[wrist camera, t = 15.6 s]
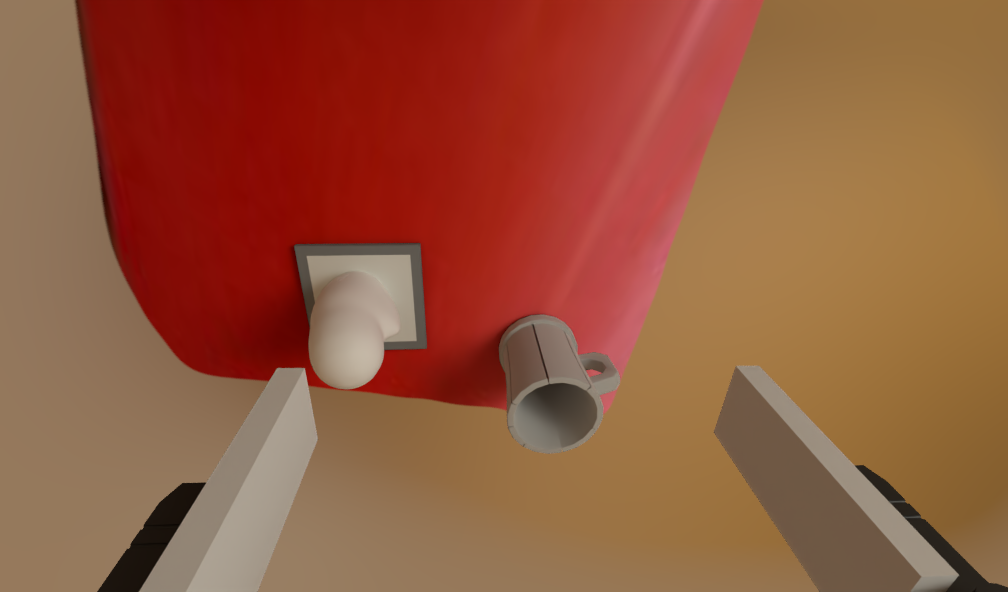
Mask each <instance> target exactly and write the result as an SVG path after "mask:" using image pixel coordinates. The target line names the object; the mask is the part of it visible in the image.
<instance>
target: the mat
mask: <svg viewBox="0 0 1008 592" xmlns="http://www.w3.org/2000/svg"><path fill="white" fill-rule="evenodd" d="M294 248H295V253H296V258H297V264H298V269H299V274H300V279H301V285H302V290H303V295H304V300H305V306H306V311H307V316H308V321H309V327H310V320H311V314H312V310H313V307H314V304H315V302H316V300H317V298H318V296H319V295H320V293H321V292H322V290H323V289H324V288H325V287H326V286H327V284H329V283H330V282H331V281H332V280H333V279H334V278H336V277H337V276H339V275H341V274H343V273H346V272H350V271H361V272H366V273H368V274H371V275H373V276H374V277H376V278H377V279H378V280H379V281H380V282H381V283H382V284H383V285H384V287H385V289H386V290H387V292H388V293H389V295H390V297H391V298H392V300H393V302H394V303H395V305H396V308H397V310H398V314H399V318H400V331H399V333H397V334H396V335H394V336H392V337H390V338H388V339H386V340H385V341H384V350H393V349H426V348H427V340H426V324H425V309H424V294H423V278H422V263H421V247H420V243H378V244H296V245H295V246H294Z"/></svg>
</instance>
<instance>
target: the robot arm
mask: <svg viewBox="0 0 1008 592" xmlns="http://www.w3.org/2000/svg"><path fill="white" fill-rule="evenodd" d="M714 433H715V435H716V436H717V438H718V439H719V441H720V442H721V444H722V445H723V447H724V448H725V450H726V451H727V453H728V454H729V456H730V458H731V459H732V461H733V462H734V464H735V465H736V467H737V468H738V470H739V471H740V472H741V474H742V476H743V477H744V478H745V480H746V482H747V483H748V485H749V486H750V488H751V489H752V491H753V492H754V493H755V495H756V496H757V498H758V500H759V501H760V503H761V504H762V506H763V507H764V509H765V510H766V512H767V513H768V515H769V516H770V518H771V519H772V521H773V522H774V524H775V525H776V527H777V528H778V530H779V531H780V533H781V534H782V536H783V537H784V539H785V540H786V542H787V543H788V545H789V546H790V548H791V549H792V551H793V553H794V554H795V555H796V557H797V558H798V560H799V562H800V563H801V565H802V566H803V567H804V569H805V571H806V572H807V573H808V575H809V577H810V578H811V580H812V581H813V583H814V584H815V586H816V587H817V589H818V590H819V592H1008V587H1005V586H1002V585H999V584H993V583H988V582H987V581H986V580H985V579H984V578H983V577H982V576H981V575H980V574H979V573H978V572H977V571H976V570H975V569H974V568H973V567H972V566H971V565H970V564H969V563H968V562H967V561H966V560H965V559H964V558H963V557H962V556H961V555H960V554H959V553H958V552H957V551H956V550H955V549H954V548H953V547H952V546H951V545H950V544H949V543H948V542H947V541H946V540H945V539H944V538H943V537H942V536H941V535H940V534H939V533H938V532H937V531H936V530H935V529H934V528H933V527H932V526H931V525H930V524H929V523H928V522H926V520H924V519H921V516H920V514H919V513H918V512H917V511H916V510H915V509H914V508H913V507H912V506H911V505H910V504H907V503H906V502H905V499H904V498H903V497H902V496H901V495H900V494H899V493H898V492H897V491H896V490H895V489H894V488H893V487H892V486H891V485H890V484H889V483H888V482H887V481H886V480H884V479H883V478H881V477H880V476H878V475H877V474H875V473H874V472H872V471H871V470H869V469H868V468H866V467H865V466H864V465H859V466H854V465H853V464H852V463H851V462H850V461H849V459H847V457H846V456H845V455H844V454H843V453H842V452H841V451H840V450H839V449H838V448H837V447H836V446H835V445H834V444H833V443H832V442H831V441H830V440H829V439H828V437H827V436H825V434H824V433H823V432H822V431H821V430H820V429H819V428H818V427H817V426H816V425H815V424H814V423H813V422H812V421H811V420H810V419H809V418H808V417H807V415H805V413H804V412H803V411H802V410H801V409H800V408H799V407H798V406H797V405H796V404H795V403H794V402H793V401H792V400H791V399H790V398H789V397H788V396H787V395H786V394H785V392H784V391H783V390H781V388H779V386H778V385H777V384H776V383H775V382H774V381H773V380H772V379H771V378H770V377H769V376H768V375H767V374H766V373H765V372H764V371H763V369H761V367H760V366H736V367H735V370H734V373H733V376H732V380H731V382H730V385H729V388H728V391H727V394H726V397H725V400H724V403H723V406H722V410H721V412H720V415H719V418H718V421H717V424H716V427H715V430H714ZM317 440H318V438H317V432H316V427H315V421H314V416H313V411H312V405H311V400H310V395H309V389H308V384H307V378H306V373H305V368H277V369H276V371H275V373H274V374H273V376H272V377H271V379H270V381H269V382H268V384H267V386H266V387H265V389H264V391H263V392H262V394H261V395H260V397H259V399H258V400H257V402H256V403H255V405H254V407H253V408H252V410H251V412H250V413H249V415H248V416H247V418H246V420H245V421H244V423H243V424H242V426H241V428H240V429H239V431H238V433H237V434H236V436H235V437H234V439H233V441H232V442H231V444H230V445H229V447H228V449H227V450H226V452H225V454H224V455H223V457H222V459H221V460H220V462H219V463H218V465H217V467H216V468H215V470H214V471H213V473H212V475H211V476H210V478H209V479H208V481H207V483H182V484H181V485H180V486H178V487H177V488H176V489H175V490H174V491H172V492H171V493H170V494H169V495H168V496H167V497H165V498H164V499H163V500H162V501H161V502H160V503H159V504H158V505H157V507H156V508H155V510H154V511H153V512H152V514H151V515H150V517H149V518H148V520H147V521H146V523H145V524H144V528H143V529H142V530H140V531H139V533H138V534H137V535H136V537H135V538H134V540H133V541H132V543H131V546H130V548H129V549H127V550H126V551H125V553H124V554H123V556H122V557H121V558H120V560H119V561H118V563H117V564H116V566H115V567H114V569H113V570H112V571H111V573H110V574H109V576H108V577H107V578H106V580H105V581H104V583H103V584H102V586H101V587H100V589H99V590H98V591H97V592H258V589H259V587H260V584H261V581H262V579H263V576H264V574H265V571H266V569H267V566H268V564H269V561H270V559H271V556H272V554H273V551H274V549H275V546H276V544H277V541H278V539H279V536H280V533H281V531H282V528H283V526H284V523H285V521H286V518H287V516H288V513H289V511H290V508H291V506H292V503H293V501H294V498H295V495H296V493H297V490H298V488H299V485H300V482H301V480H302V477H303V475H304V473H305V470H306V468H307V465H308V463H309V460H310V457H311V455H312V452H313V450H314V447H315V445H316V442H317Z"/></svg>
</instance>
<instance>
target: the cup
mask: <svg viewBox="0 0 1008 592" xmlns="http://www.w3.org/2000/svg"><path fill="white" fill-rule="evenodd" d="M499 358H500V363H501V365H502V368H503V370H504V372H505V375H506V385H507V425H508V429H509V431H510V433H511V435H512V437H513V438H514V439H515V440H516V441H517V442H518V443H519V444H520V445H523V447H525V448H528V449H530V450H532V451H535V452H542V453H560V452H561V448H562V450H563V452H564V451H568V450H571V449H573V448H576V447H578V446H579V445H581V444H583V443H584V442H586V441H587V440H589V438H590V437H591V436H592V435H593V434H594V433H595V432H596V430H597V429H598V427H599V425H600V423H601V421H602V418H603V404H602V401H601V398H600V395H602V394H605V393H608V392H611V391H614V390H616V389H617V387H618V386H619V384H620V376H619V373H618V371H617V369H616V368H615V366H614V365H613V363H612V362H611V360H610V359H609V357H608V356H607V355H604V354H600V353H596V352H592V353H587V354H581V355H578V354H577V343H576V340H575V337H574V335H573V332H572V330H571V329H570V328H569V327H568V326H567V325H566V323H565V322H563V321H561V320H559V319H558V318H556V317H553V316H548V315H543V314H542V315H530V316H528V317H525V318H522V319H519V320H518V321H516V322H515V323H514V324H512V325H511V326H509V327H508V329H507V330H506V332H505V333H504V334H503V336H502V338H501V341H500V344H499ZM590 369H593V370H596V371H598V372H601V373H602V374H599V375H596V376H592V377H589V376H588V374H587V372H586V370H590Z"/></svg>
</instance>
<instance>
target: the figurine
mask: <svg viewBox="0 0 1008 592" xmlns="http://www.w3.org/2000/svg"><path fill="white" fill-rule="evenodd" d="M399 331H400V318H399V314H398V310H397V308H396V305H395V303H394V302H393V300H392V298H391V297H390V295H389V293H388V292H387V290H386V289H385V287H384V285H383V284H382V283H381V282H380V281H379V280H378V279H377V278H376V277H374V276H373V275H371V274H368V273H366V272H361V271H350V272H346V273H343V274H341V275H339V276H337V277H336V278H334V279H333V280H332V281H331V282H330V283H329V284H327V286H326V287H325V288H324V289H323V290H322V292H321V293H320V295H319V296H318V298H317V300H316V302H315V304H314V307H313V310H312V314H311V320H310V333H309V357H310V362H311V365H312V367H313V369H314V371H315V372H316V374H317V375H318V377H319V378H320V379H321V380H322V381H323V382H325V383H326V384H328V385H330V386H332V387H335V388H339V389H353V388H357V387H360V386H362V385H364V384H366V383H367V382H369V381H370V380H371V379H372V378H373V377H374V376H375V374H376V373H377V371H378V370H379V368H380V366H381V364H382V361H383V357H384V341H385V340H386V339H388V338H390V337H392V336H394V335H396V334H397V333H399Z"/></svg>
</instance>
